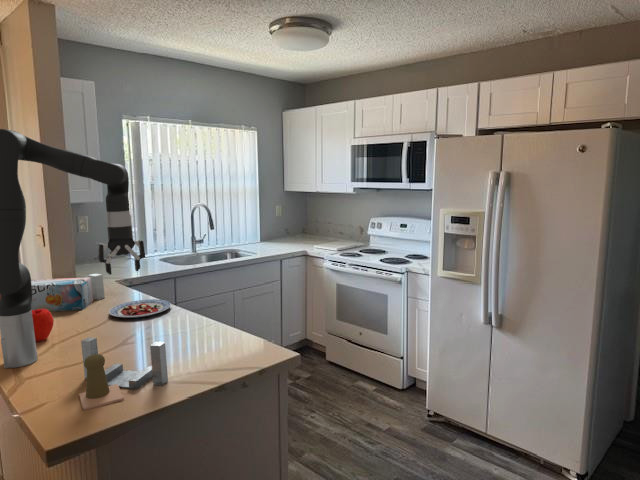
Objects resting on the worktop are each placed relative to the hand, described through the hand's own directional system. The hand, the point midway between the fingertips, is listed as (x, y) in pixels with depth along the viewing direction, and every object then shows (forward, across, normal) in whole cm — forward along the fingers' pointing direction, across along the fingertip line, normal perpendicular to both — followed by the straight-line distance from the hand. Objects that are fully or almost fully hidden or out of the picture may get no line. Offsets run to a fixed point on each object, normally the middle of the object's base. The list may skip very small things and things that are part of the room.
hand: (123, 272), depth 156 cm
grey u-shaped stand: (+28, -6, -22) cm, 36 cm away
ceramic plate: (+29, +13, +47) cm, 57 cm away
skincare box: (+28, 0, +84) cm, 89 cm away
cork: (+28, -14, -28) cm, 42 cm away
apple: (+28, -26, +33) cm, 51 cm away
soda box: (+29, -24, +81) cm, 89 cm away
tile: (+28, -13, -30) cm, 43 cm away
